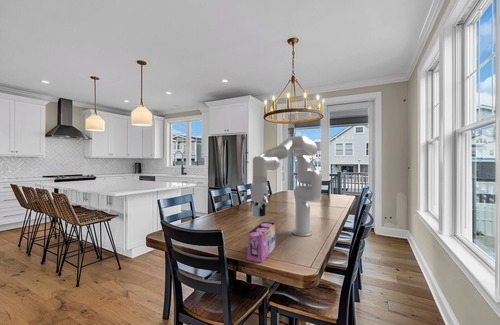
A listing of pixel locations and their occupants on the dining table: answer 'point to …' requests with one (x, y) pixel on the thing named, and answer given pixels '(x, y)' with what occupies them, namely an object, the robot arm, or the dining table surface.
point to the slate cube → (257, 211)
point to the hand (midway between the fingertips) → (259, 214)
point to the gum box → (261, 241)
